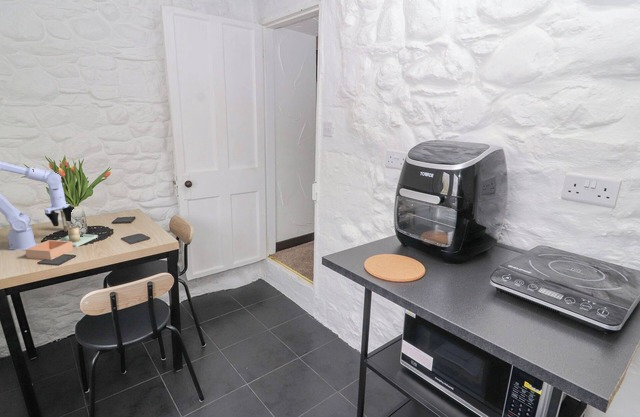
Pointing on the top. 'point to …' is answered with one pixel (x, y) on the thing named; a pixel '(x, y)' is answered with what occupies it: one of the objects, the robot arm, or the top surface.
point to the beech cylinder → (74, 234)
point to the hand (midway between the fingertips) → (62, 223)
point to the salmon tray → (49, 249)
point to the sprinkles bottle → (63, 220)
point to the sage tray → (83, 240)
